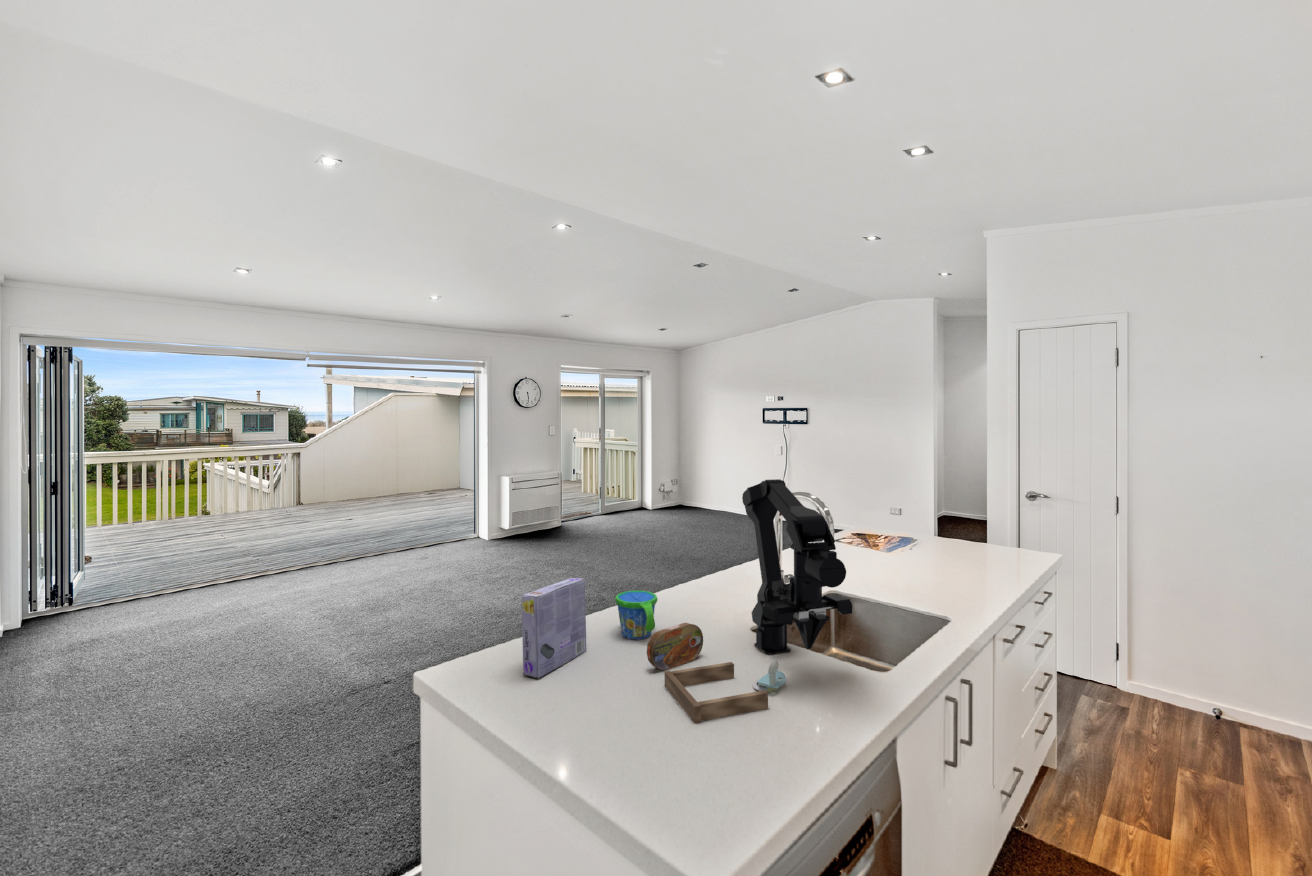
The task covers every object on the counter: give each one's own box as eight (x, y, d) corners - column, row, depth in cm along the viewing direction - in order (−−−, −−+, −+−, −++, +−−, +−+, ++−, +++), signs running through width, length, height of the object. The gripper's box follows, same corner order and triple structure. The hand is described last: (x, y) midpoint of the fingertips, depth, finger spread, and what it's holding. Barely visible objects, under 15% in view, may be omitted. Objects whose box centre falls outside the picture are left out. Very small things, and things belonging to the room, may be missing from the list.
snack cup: (667, 642, 144) (667, 601, 144) (627, 649, 140) (627, 607, 140) (644, 623, 159) (644, 586, 159) (607, 628, 155) (607, 590, 155)
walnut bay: (731, 675, 125) (730, 661, 125) (768, 709, 110) (768, 693, 110) (664, 686, 120) (664, 671, 120) (694, 723, 105) (694, 706, 105)
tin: (653, 675, 126) (653, 636, 126) (644, 670, 128) (644, 632, 128) (704, 657, 135) (704, 621, 135) (695, 653, 138) (695, 618, 137)
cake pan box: (573, 646, 143) (572, 574, 142) (590, 649, 140) (589, 576, 140) (520, 676, 126) (519, 594, 125) (538, 680, 123) (537, 597, 123)
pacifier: (747, 691, 118) (774, 698, 115) (745, 660, 118) (773, 666, 115) (762, 678, 124) (789, 684, 121) (761, 649, 124) (787, 654, 121)
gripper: (822, 562, 132) (822, 630, 133) (749, 569, 126) (749, 640, 127) (854, 574, 122) (854, 647, 122) (776, 582, 116) (776, 660, 116)
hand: (807, 648), depth 122 cm, fingers closed
